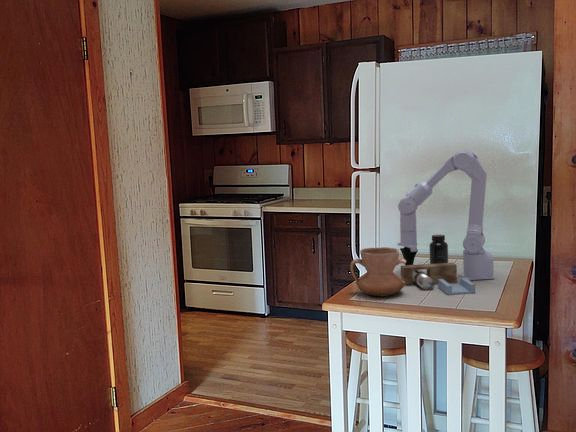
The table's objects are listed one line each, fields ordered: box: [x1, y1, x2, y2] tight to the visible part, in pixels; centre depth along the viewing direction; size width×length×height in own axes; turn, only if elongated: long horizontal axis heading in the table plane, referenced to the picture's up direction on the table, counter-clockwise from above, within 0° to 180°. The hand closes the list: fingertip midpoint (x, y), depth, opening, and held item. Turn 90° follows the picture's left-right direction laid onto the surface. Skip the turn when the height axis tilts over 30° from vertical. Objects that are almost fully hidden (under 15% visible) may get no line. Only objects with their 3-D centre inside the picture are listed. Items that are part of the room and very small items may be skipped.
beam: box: [400, 262, 458, 287], centre depth 186 cm, size 18×4×6 cm, turn 93°
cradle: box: [437, 277, 476, 296], centre depth 175 cm, size 9×9×3 cm
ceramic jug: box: [350, 246, 406, 297], centre depth 176 cm, size 18×14×14 cm
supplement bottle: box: [428, 234, 449, 264], centre depth 209 cm, size 7×7×12 cm
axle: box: [413, 269, 435, 291], centre depth 185 cm, size 4×16×4 cm, turn 3°
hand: (409, 267), depth 199 cm, fingers closed
